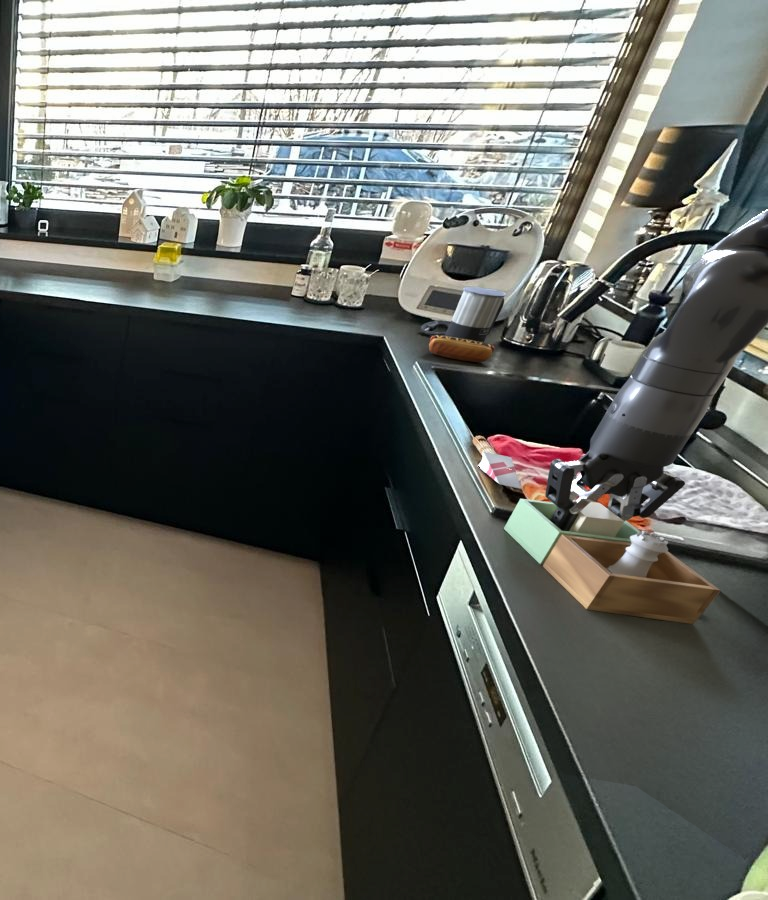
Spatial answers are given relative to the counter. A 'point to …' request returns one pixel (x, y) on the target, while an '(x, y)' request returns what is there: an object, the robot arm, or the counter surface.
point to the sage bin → (548, 529)
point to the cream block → (597, 521)
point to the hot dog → (460, 348)
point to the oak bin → (628, 581)
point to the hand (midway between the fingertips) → (577, 535)
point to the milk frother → (471, 315)
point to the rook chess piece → (640, 555)
